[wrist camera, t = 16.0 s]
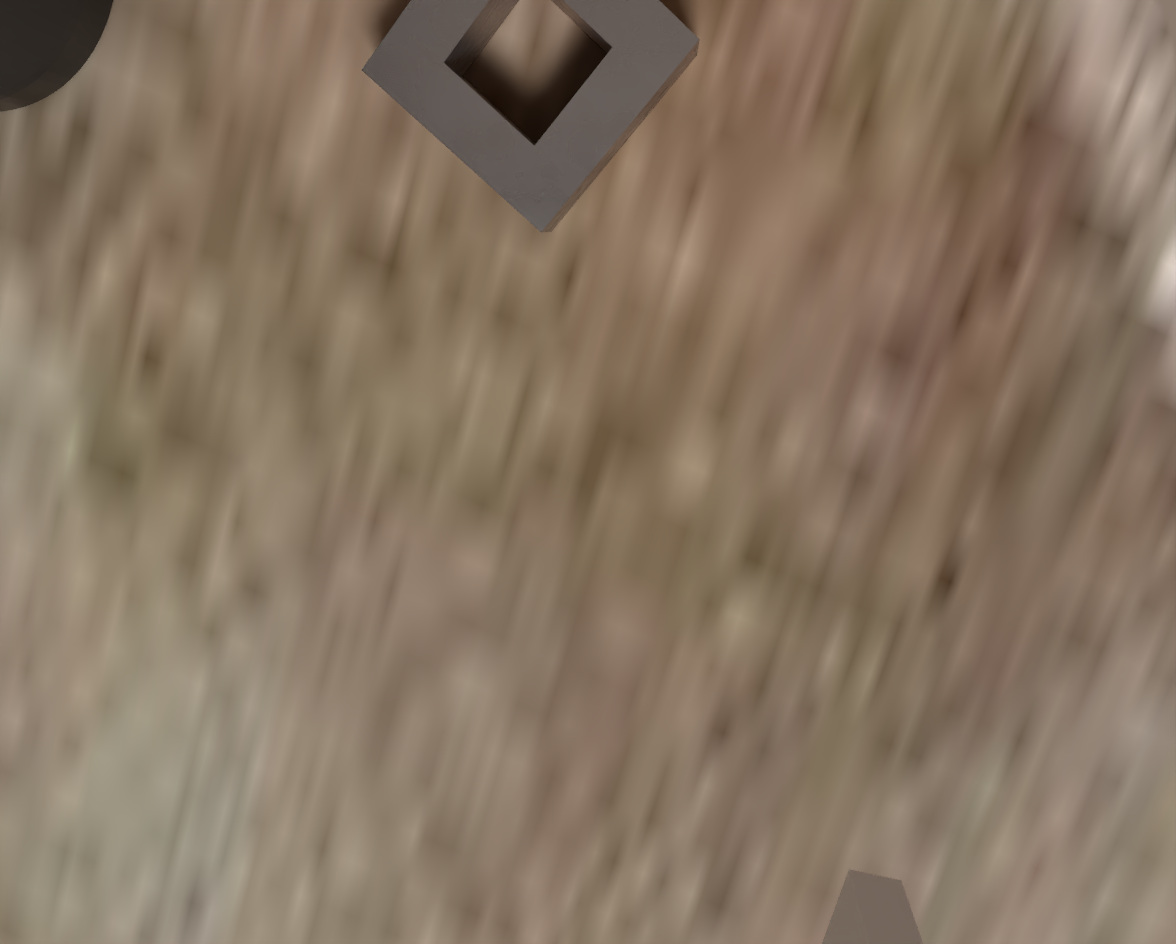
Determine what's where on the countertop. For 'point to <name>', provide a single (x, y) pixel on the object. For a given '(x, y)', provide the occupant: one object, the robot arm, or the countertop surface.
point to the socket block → (580, 132)
